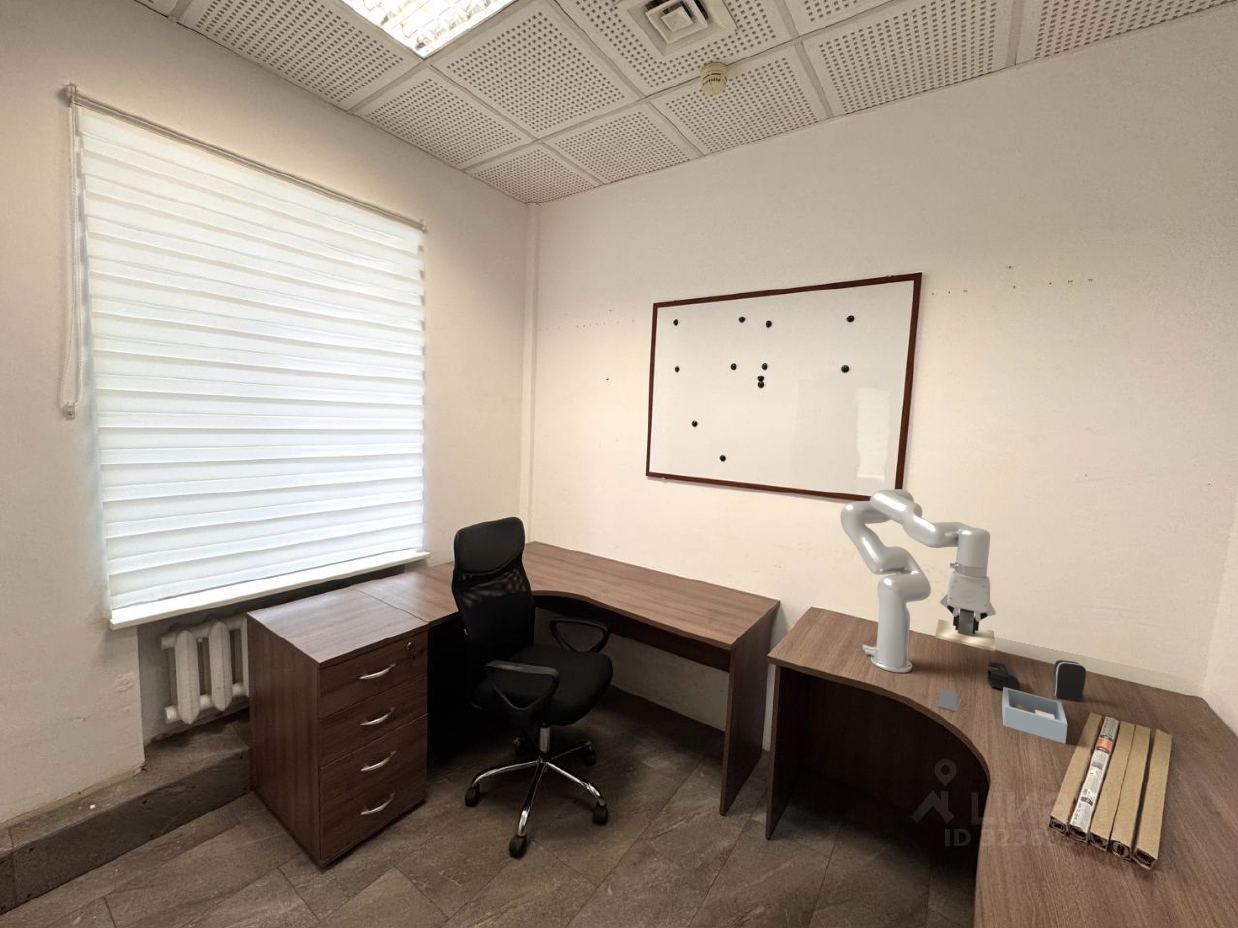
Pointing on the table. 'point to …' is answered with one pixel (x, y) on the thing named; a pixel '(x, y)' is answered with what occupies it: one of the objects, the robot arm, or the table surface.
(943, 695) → the mat
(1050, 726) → the box
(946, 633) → the lid
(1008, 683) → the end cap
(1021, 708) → the cork ball
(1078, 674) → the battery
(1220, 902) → the table surface
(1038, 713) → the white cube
